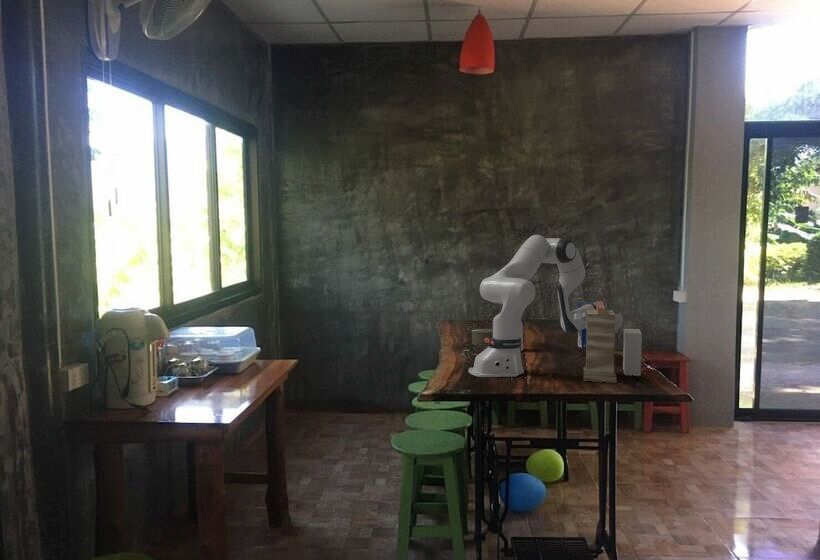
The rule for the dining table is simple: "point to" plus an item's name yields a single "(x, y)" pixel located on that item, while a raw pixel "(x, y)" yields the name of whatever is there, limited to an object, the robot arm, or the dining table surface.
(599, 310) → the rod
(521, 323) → the milk bottle
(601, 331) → the stand
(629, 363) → the seat block
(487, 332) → the can
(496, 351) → the robot arm
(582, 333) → the beverage box
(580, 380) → the dining table surface
